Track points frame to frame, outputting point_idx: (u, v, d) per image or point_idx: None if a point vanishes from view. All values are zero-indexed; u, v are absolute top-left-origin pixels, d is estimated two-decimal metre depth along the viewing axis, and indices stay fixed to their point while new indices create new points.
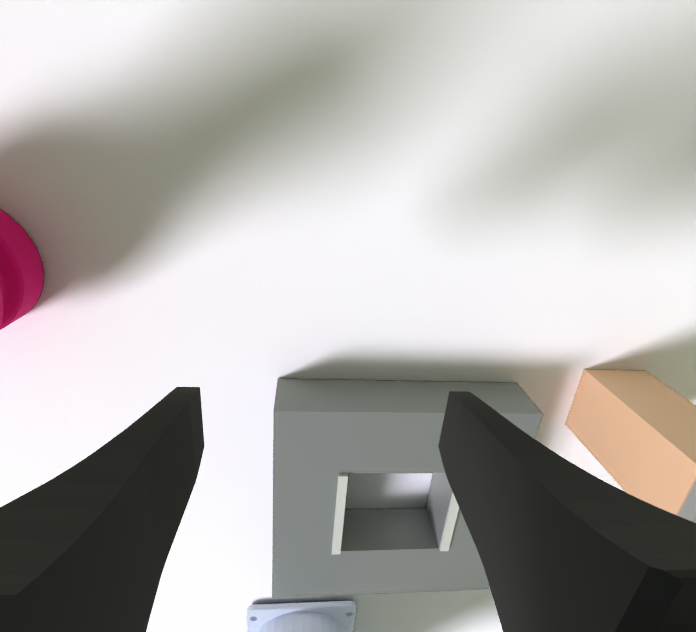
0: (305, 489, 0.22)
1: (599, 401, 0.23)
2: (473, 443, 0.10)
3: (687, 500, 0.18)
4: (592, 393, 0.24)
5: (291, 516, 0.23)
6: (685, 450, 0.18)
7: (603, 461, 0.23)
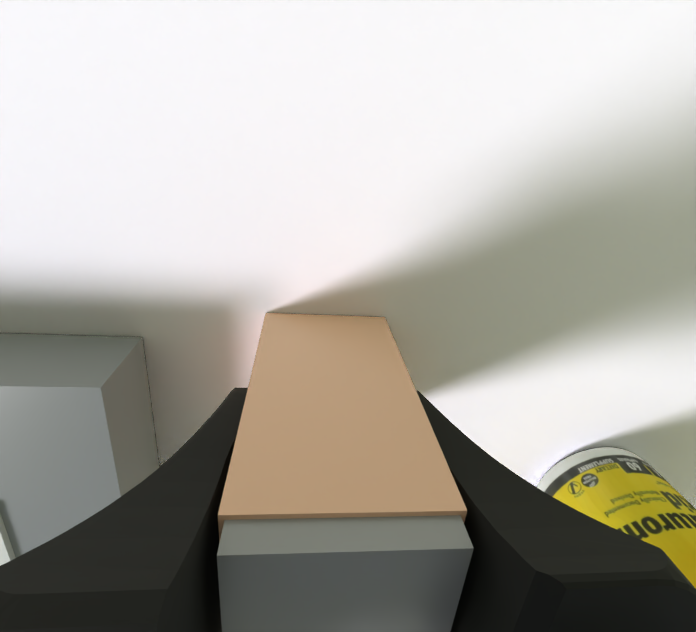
0: None
1: None
2: None
3: None
4: None
5: None
6: (246, 466, 0.07)
7: None
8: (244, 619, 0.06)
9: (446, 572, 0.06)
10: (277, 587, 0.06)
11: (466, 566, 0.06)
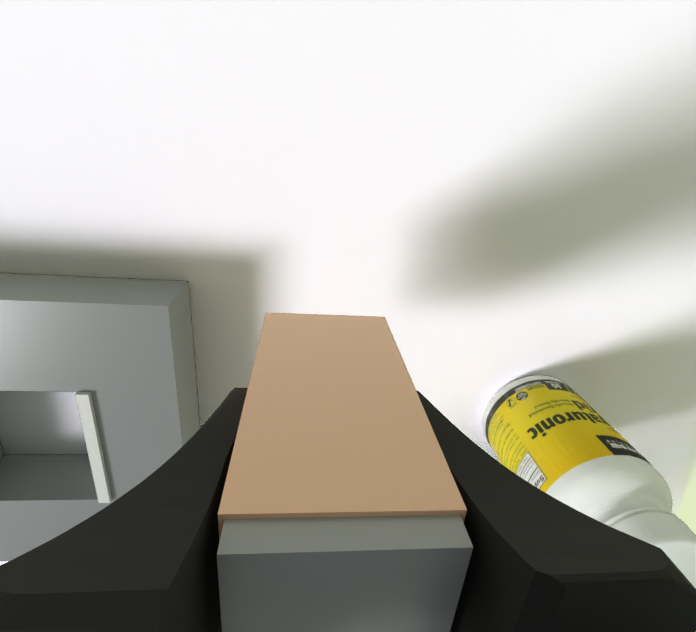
0: None
1: None
2: None
3: None
4: None
5: None
6: (246, 465, 0.07)
7: None
8: (244, 618, 0.06)
9: (446, 571, 0.06)
10: (277, 586, 0.06)
11: (466, 565, 0.06)
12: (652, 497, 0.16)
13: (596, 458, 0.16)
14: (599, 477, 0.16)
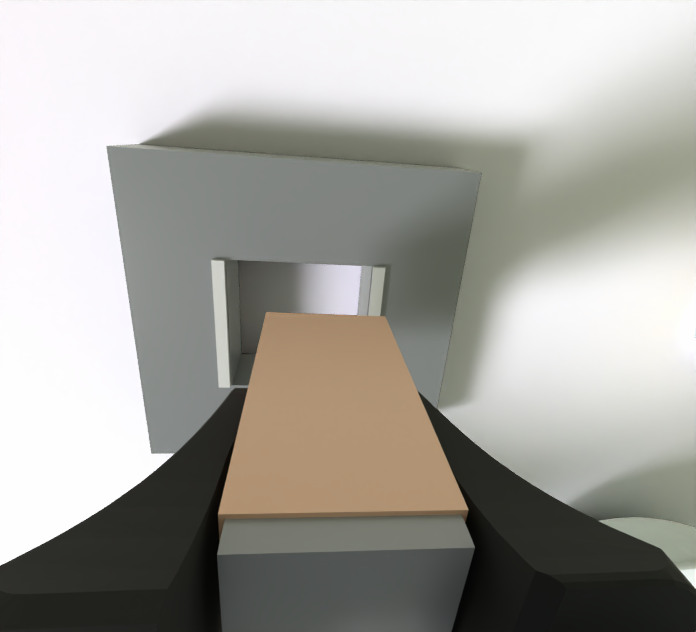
0: (170, 283, 0.17)
1: None
2: None
3: None
4: None
5: (158, 326, 0.18)
6: (246, 465, 0.07)
7: None
8: (244, 619, 0.06)
9: (447, 571, 0.06)
10: (277, 586, 0.06)
11: (467, 565, 0.06)
12: None
13: None
14: None
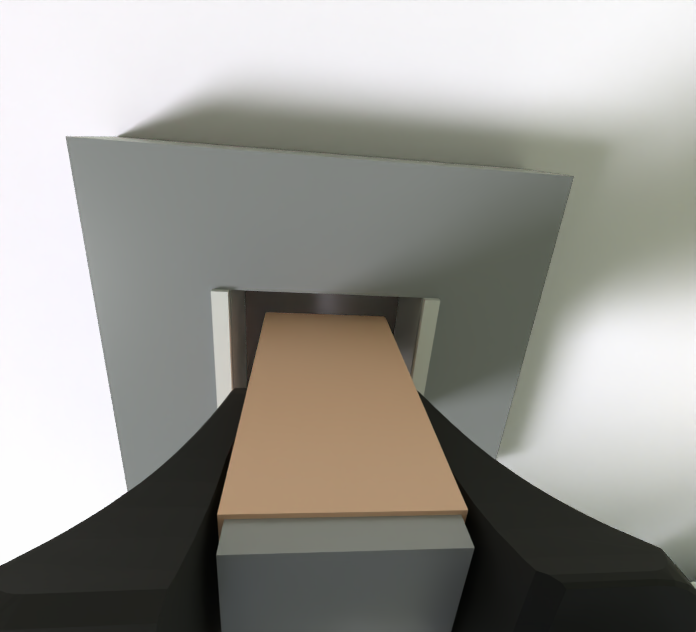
0: (156, 321, 0.13)
1: None
2: None
3: None
4: None
5: (140, 375, 0.13)
6: (246, 465, 0.07)
7: None
8: (244, 618, 0.06)
9: (447, 572, 0.06)
10: (277, 587, 0.06)
11: (467, 566, 0.06)
12: None
13: None
14: None
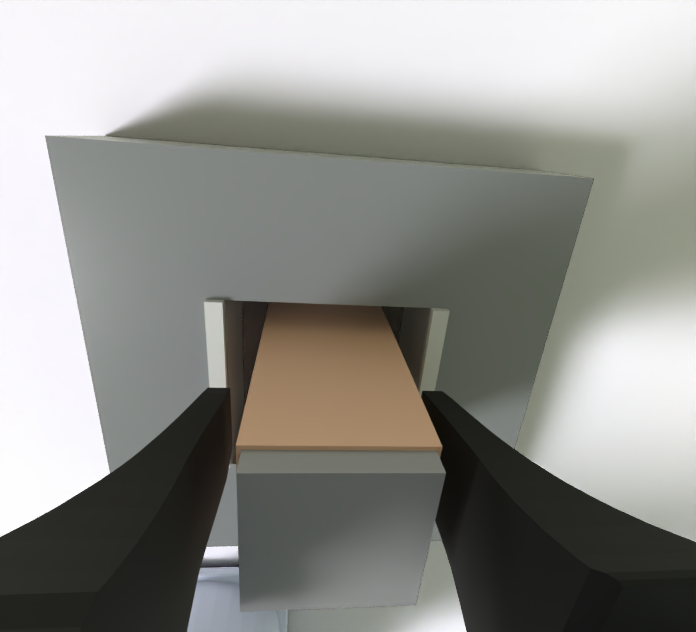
0: (145, 333, 0.12)
1: None
2: (442, 443, 0.10)
3: None
4: None
5: (130, 390, 0.13)
6: (257, 411, 0.09)
7: None
8: (257, 532, 0.08)
9: (423, 494, 0.08)
10: (284, 503, 0.08)
11: (440, 489, 0.08)
12: None
13: None
14: None
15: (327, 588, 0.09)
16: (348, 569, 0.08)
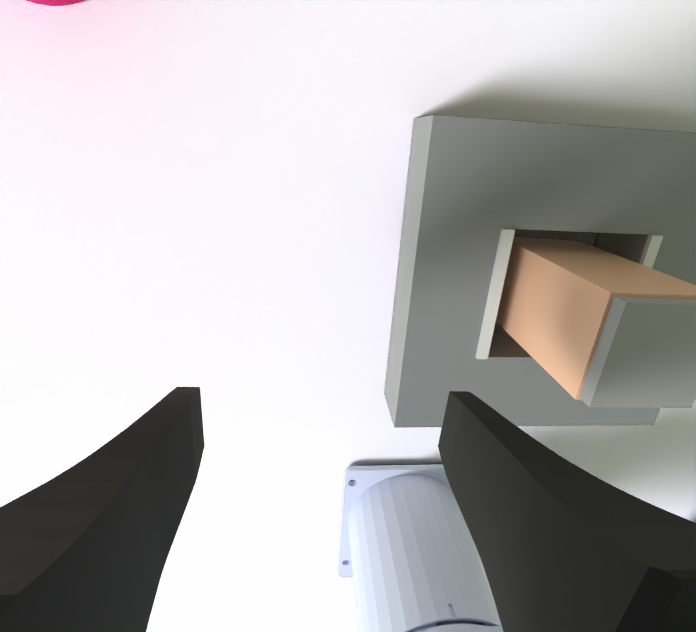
0: (456, 254, 0.17)
1: (515, 267, 0.19)
2: (473, 443, 0.10)
3: (598, 343, 0.14)
4: (509, 261, 0.20)
5: (433, 297, 0.18)
6: (598, 281, 0.14)
7: (518, 337, 0.18)
8: (621, 345, 0.13)
9: None
10: (643, 325, 0.13)
11: None
12: None
13: None
14: None
15: (645, 391, 0.14)
16: (662, 376, 0.14)
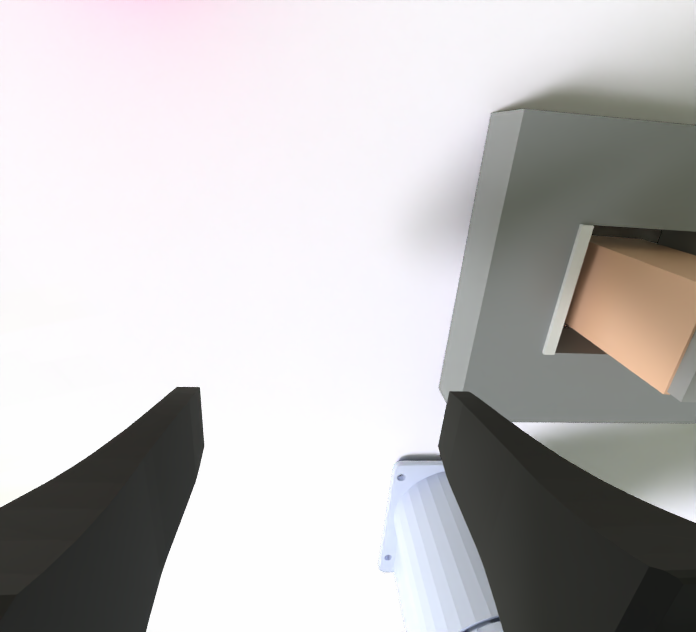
0: (533, 248, 0.17)
1: (584, 263, 0.19)
2: (473, 442, 0.10)
3: (693, 338, 0.14)
4: None
5: (507, 292, 0.18)
6: (692, 278, 0.14)
7: (588, 333, 0.19)
8: None
9: None
10: None
11: None
12: None
13: None
14: None
15: None
16: None
